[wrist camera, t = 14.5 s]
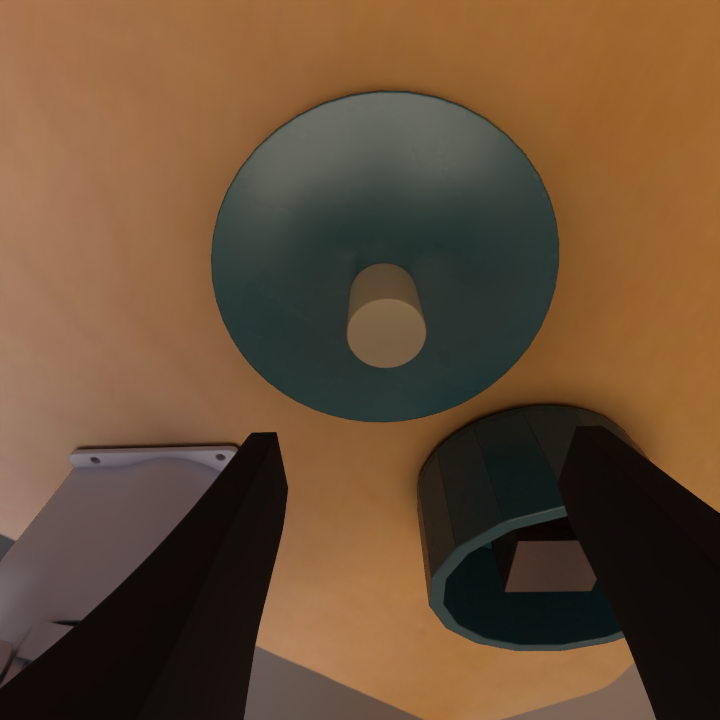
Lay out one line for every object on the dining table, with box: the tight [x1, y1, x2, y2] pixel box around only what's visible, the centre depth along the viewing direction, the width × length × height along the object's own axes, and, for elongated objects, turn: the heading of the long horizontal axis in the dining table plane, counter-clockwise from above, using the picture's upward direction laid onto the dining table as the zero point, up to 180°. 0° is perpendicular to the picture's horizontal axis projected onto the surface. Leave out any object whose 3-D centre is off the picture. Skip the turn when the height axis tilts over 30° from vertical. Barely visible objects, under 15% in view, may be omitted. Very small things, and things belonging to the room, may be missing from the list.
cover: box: [211, 91, 559, 422], centre depth 15 cm, size 13×13×4 cm
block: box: [491, 516, 597, 592], centre depth 21 cm, size 4×4×4 cm
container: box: [417, 406, 650, 651], centre depth 21 cm, size 12×12×6 cm
